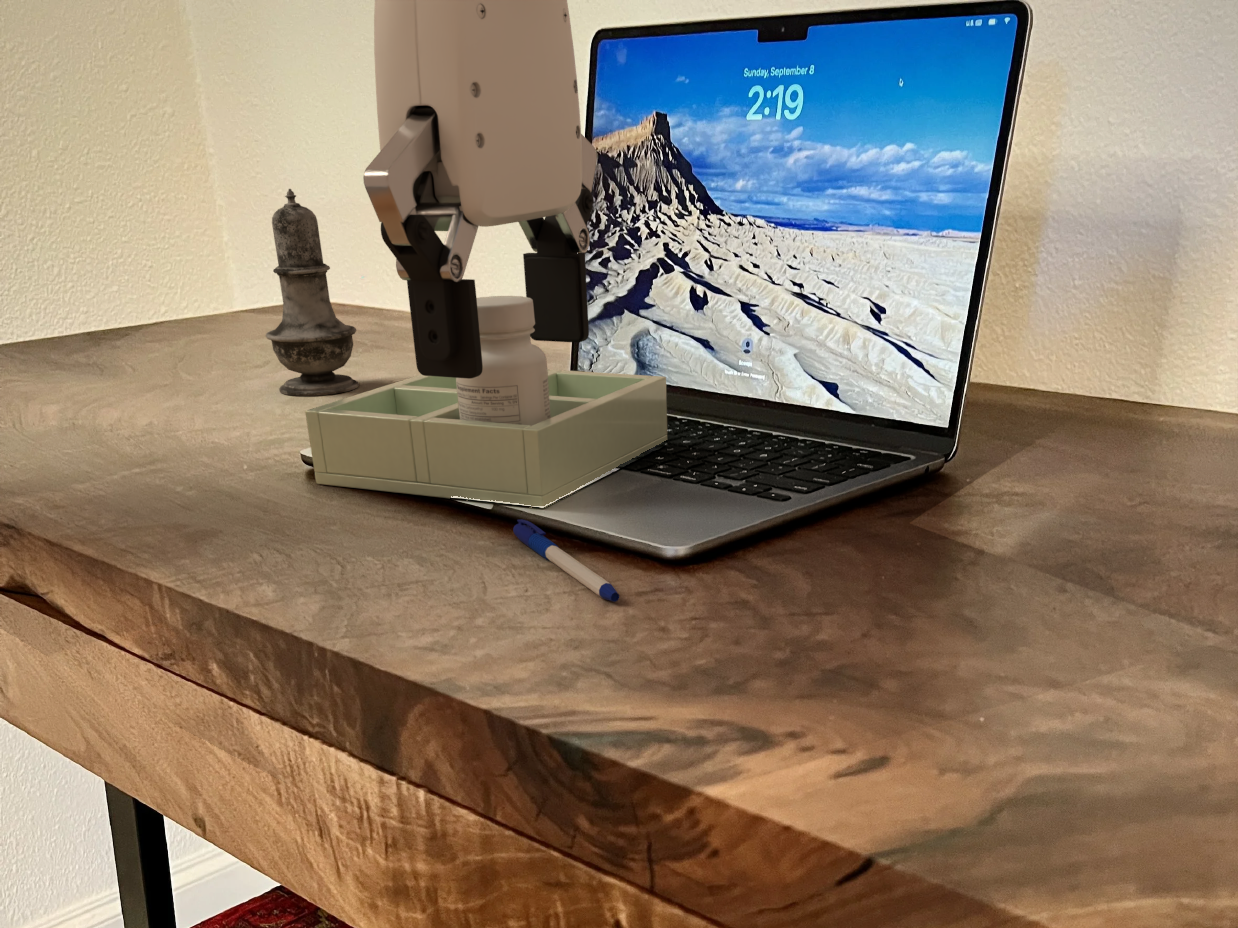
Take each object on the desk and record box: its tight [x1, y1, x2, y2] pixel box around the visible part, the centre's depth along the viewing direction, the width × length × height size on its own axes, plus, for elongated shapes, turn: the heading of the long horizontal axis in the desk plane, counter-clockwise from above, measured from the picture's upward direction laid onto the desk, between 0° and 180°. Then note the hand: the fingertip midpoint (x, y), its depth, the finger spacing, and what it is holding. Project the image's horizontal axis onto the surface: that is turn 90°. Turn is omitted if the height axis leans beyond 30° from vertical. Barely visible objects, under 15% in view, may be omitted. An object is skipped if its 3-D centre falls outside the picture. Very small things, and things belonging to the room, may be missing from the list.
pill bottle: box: [456, 295, 551, 426], centre depth 64 cm, size 4×4×8 cm
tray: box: [304, 368, 669, 506], centre depth 69 cm, size 13×13×4 cm
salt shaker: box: [265, 188, 360, 397], centre depth 87 cm, size 6×6×12 cm
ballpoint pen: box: [512, 518, 620, 603], centre depth 55 cm, size 10×1×1 cm, turn 27°
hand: (507, 357), depth 64 cm, fingers open, 9 cm apart
